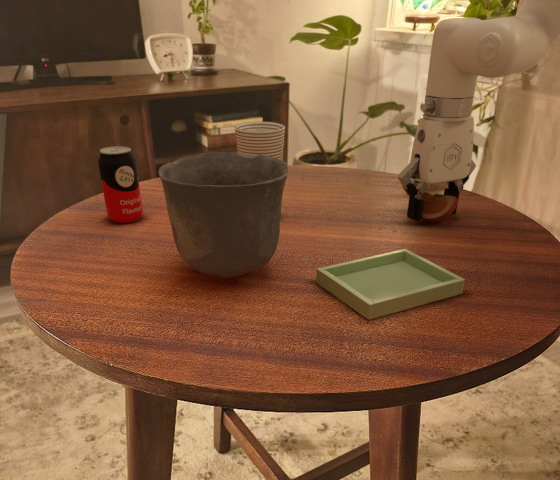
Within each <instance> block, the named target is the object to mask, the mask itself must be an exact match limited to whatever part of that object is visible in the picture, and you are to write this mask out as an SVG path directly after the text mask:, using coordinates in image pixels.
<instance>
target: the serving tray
mask: <svg viewBox="0 0 560 480" xmlns="http://www.w3.org/2000/svg"><path fill="white" fill-rule="evenodd" d="M465 282H466V279H465V278H464V277H461V276H459V275H458V274H455V273H454V272H451V271H450V270H447V269H446V268H444V267H442V266H439V265H438V264H436V263H434V262H432V261H430V260H428V259H426V258H424V257H422V256H421V255H418V254H416V253H415V252H413V251H411V250H409V249H407V248H402V249H398V250H393V251H389V252H385V253H380V254H376V255H372V256H366V257H362V258H358V259H353V260H349V261H345V262H341V263H336V264H332V265H327V266H323V267H318V268H316V277H315V283H316V284H317V285H319V286H320V287H322V288H323V289H325V290H326V291H327V292H329V293H330V294H332V295H333V296H335V298H337V299H338V300H340V301H341V302H342V303H344V304H346V305H347V306H348V307H350V308H351V309H353V310H354V311H355V312H357V313H358V314H360V315H361V316H362V317H364V318H365V319H366V320H368V321H369V320H373V319H377V318H380V317H383V316H384V317H385V316H387V315H391V314H394V313H398V312H402V311H405V310H409V309H413V308H416V307H420V306H423V305H427V304H430V303H434V302H437V301H442V300H445V299H449V298H451V297H452V298H453V297H456V296H459V295H463V294H464V287H465Z"/></svg>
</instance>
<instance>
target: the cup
mask: <svg viewBox="0 0 560 480" xmlns="http://www.w3.org/2000/svg"><path fill="white" fill-rule="evenodd" d="M234 131H235V132H234V134H235V140H236V152H238V153H240V154H241V155H246V156H256V155H259V154H261V155H267V156H270V157H275V158H278V159H280V160H282V161H284V160H283V159H284V148H285V147H284V146H285V133H286V126H285V125H284V124H282V123H280V122H275V121H263V120H262V121H248V122H247V121H246V122H245V121H244V122H241V123H238V124H236V125H234Z"/></svg>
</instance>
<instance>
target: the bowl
mask: <svg viewBox="0 0 560 480" xmlns="http://www.w3.org/2000/svg"><path fill="white" fill-rule="evenodd" d="M288 169H289V164H288V163H287V162H286V161H284V160H280V159H278V158H275V157H270V156H267V155H261V154H259V155H256V156H246V155H241V154H240V153H238V151H235V152H233V151H231V152H229V151H218V152H217V151H216V152H204V153H198V154H195V155H190V156H185V157H181V158H178V159H176V160H175V161H173V162H167V163H164V164H163V165H161V166H160V167H159V169H158V175H159V178H160V181H161V184H162V189H163V193H164V198H165V204H166V211H167V215H168V220H169V223H170V228H171V231H172V232H171V233H172V236H173V240H174V241H173V242H174V244H175V247H176V250H177V252H178V255H179V256H180V258H181V260H182V262H183V263H185V264H186V265H187V266H188V267H190V268H191V269H193V270H195V271H197V272H199V273H201V274H204V275H205V276H209V277H213V278H219V279H229V278H237V277H242V276H245V275H249V274H251V273H255V272H256V271H258V270H260V269H261V268H263V267H264V266H266V265H267V264H268V263H269V262H270V261H271V259H272V258H273V257H274V254H275V253H276V251H277V247H278V245H279V241H280V233H281V222H282V221H281V220H282V203H283V196H284V190H285V185H286V181H287V178H288V176H289V173H290V171H289V170H288Z"/></svg>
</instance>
